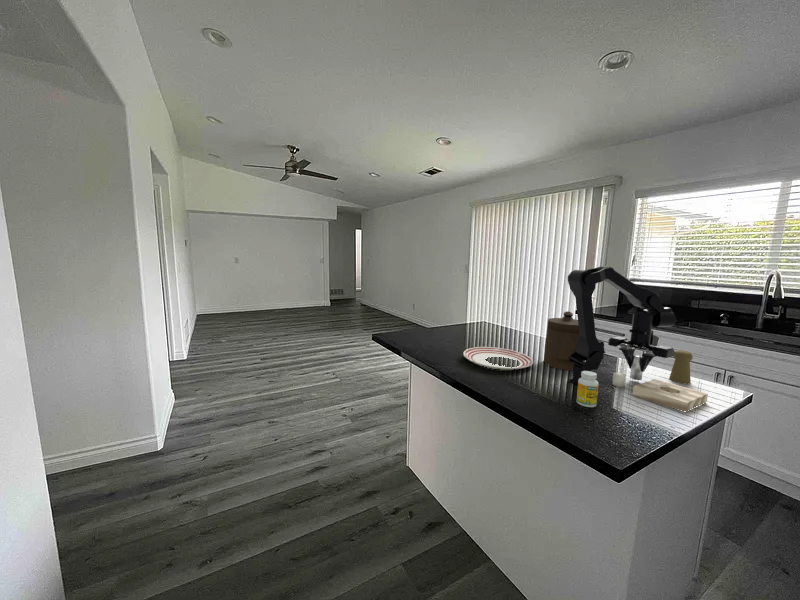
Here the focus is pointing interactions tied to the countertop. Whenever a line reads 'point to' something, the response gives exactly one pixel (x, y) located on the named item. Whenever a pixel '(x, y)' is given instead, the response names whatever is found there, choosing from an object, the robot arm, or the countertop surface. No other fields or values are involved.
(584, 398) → the supplement bottle
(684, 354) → the cork
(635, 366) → the tall steel pin
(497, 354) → the dinner plate
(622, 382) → the short cream pin
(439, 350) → the countertop surface
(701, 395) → the hole board
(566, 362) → the wooden container
